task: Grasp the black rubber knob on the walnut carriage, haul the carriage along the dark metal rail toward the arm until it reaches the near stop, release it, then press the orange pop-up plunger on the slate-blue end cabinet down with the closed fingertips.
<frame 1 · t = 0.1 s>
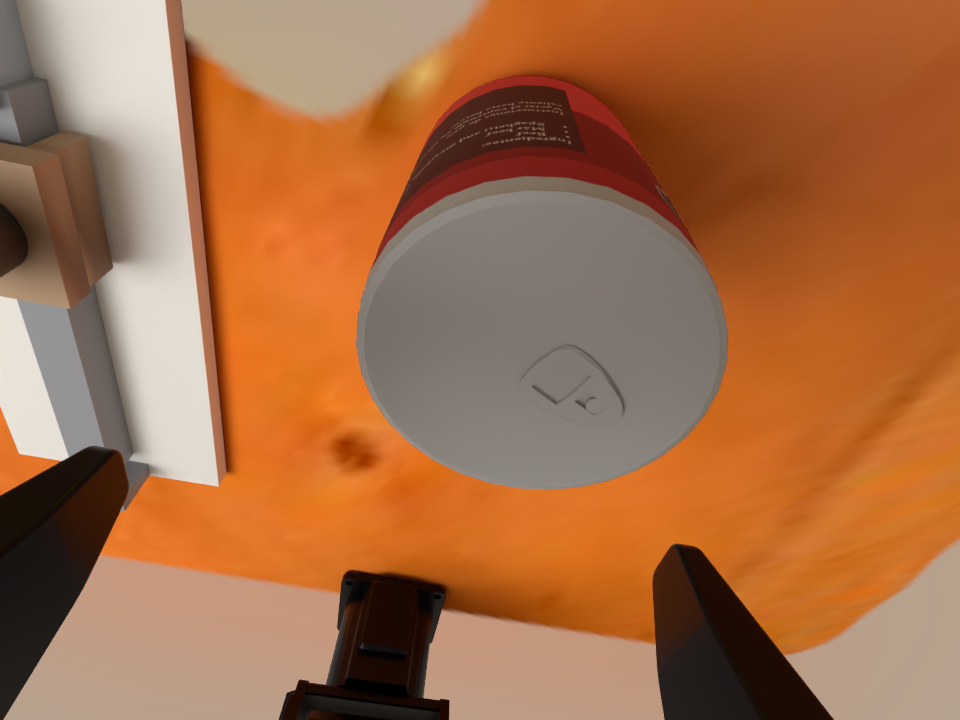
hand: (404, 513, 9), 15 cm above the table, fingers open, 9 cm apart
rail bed: (85, 265, 24), on the table
canned food: (528, 185, 21), on the table
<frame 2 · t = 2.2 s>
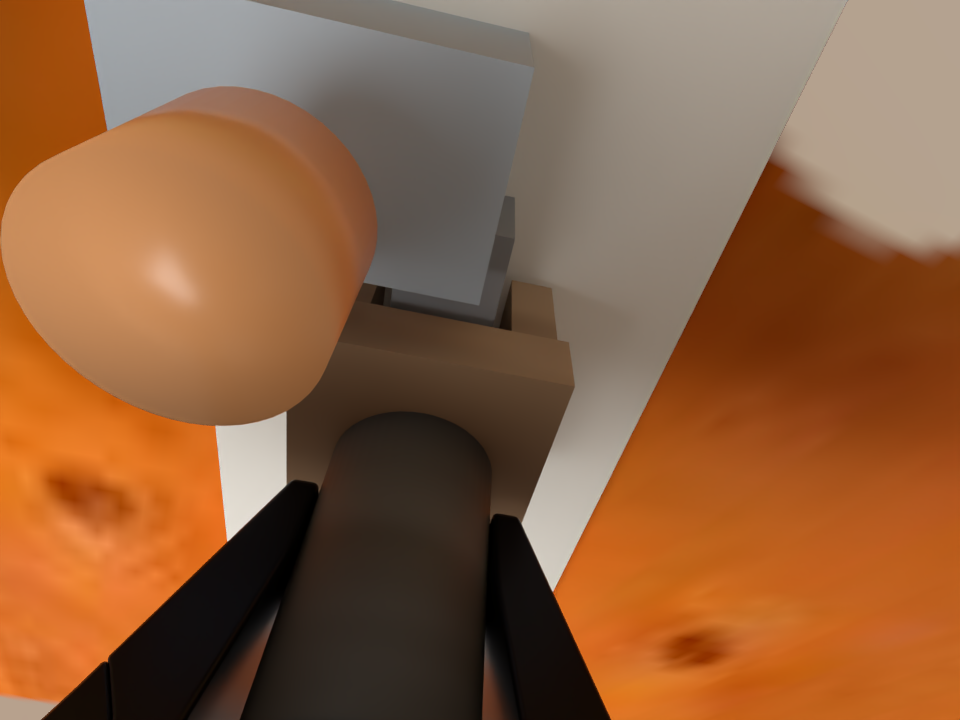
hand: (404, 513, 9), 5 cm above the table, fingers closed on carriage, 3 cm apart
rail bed: (418, 439, 16), on the table
carriage: (405, 505, 9), point 5 cm above the table, slide at 3.5 cm, touching gripper
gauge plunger: (222, 255, 5), point 7 cm above the table, slide at 1.5 cm
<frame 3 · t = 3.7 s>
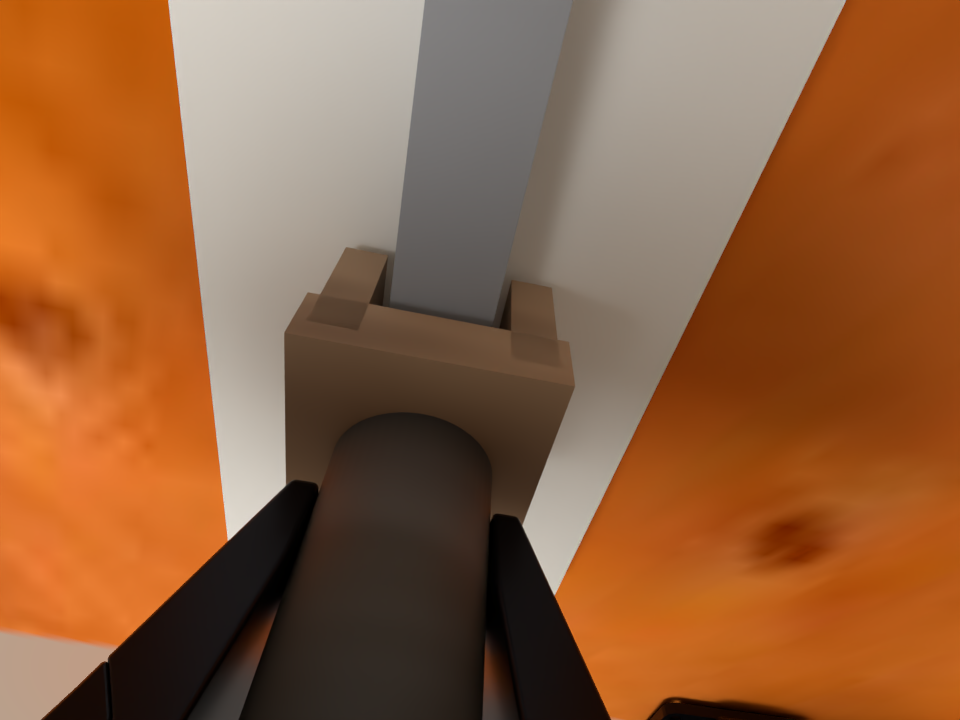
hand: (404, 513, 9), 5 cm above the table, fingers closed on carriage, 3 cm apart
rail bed: (462, 203, 12), on the table
carriage: (405, 506, 9), point 5 cm above the table, slide at -3.3 cm, touching gripper
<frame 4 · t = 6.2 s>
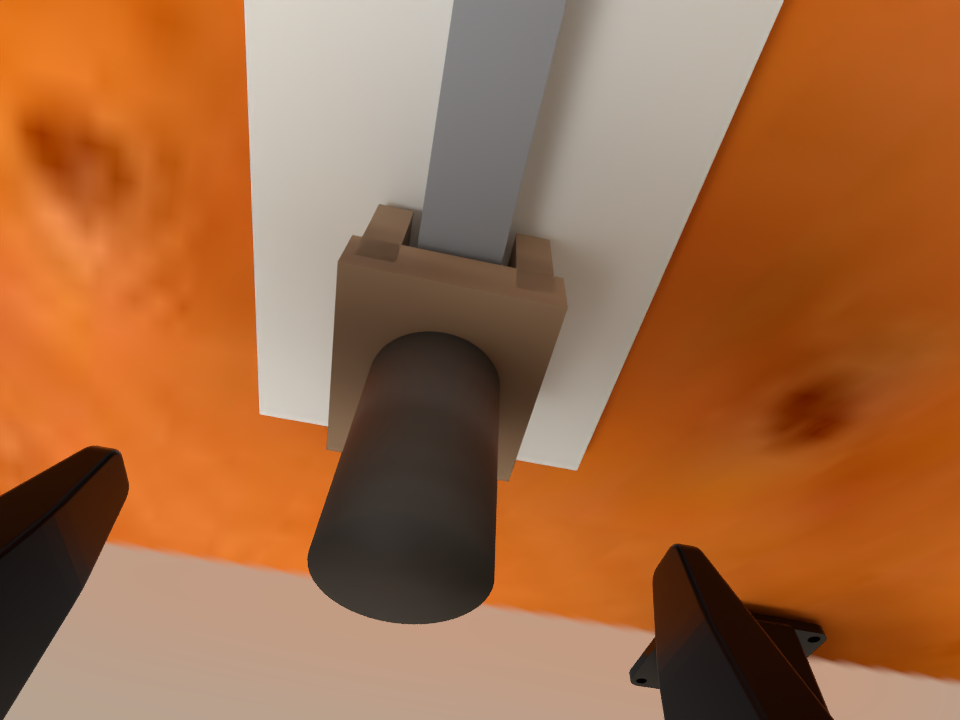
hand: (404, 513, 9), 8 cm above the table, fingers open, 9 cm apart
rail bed: (504, 21, 12), on the table
carriage: (430, 409, 12), point 5 cm above the table, slide at -6.5 cm
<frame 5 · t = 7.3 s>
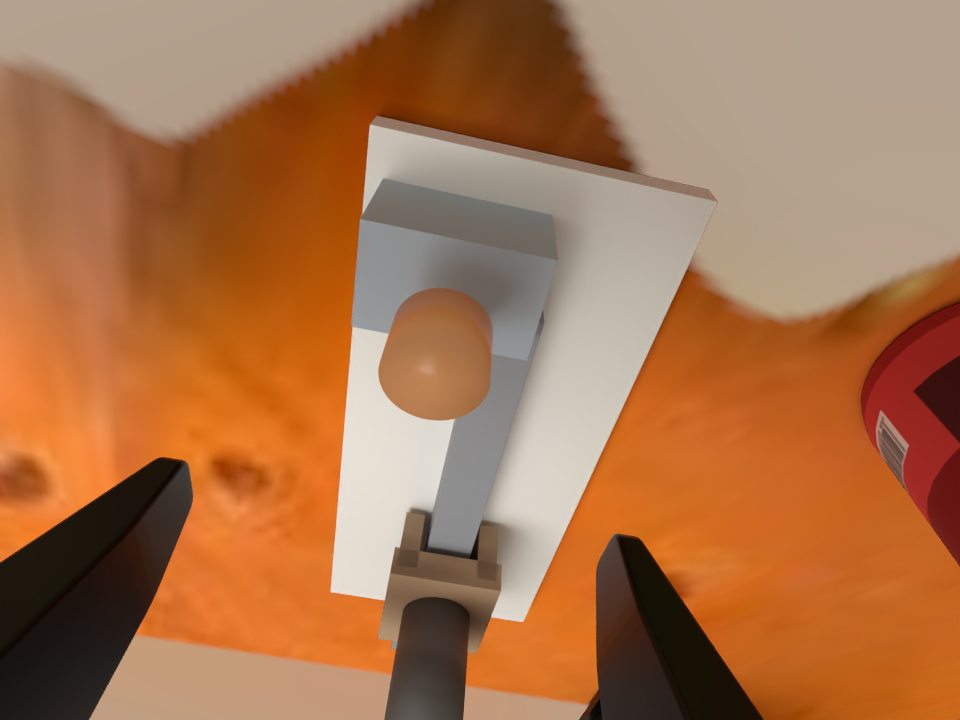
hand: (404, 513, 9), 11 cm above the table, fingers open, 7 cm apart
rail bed: (471, 433, 23), on the table
carriage: (434, 633, 23), point 5 cm above the table, slide at -6.5 cm
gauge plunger: (438, 354, 13), point 7 cm above the table, slide at 1.5 cm
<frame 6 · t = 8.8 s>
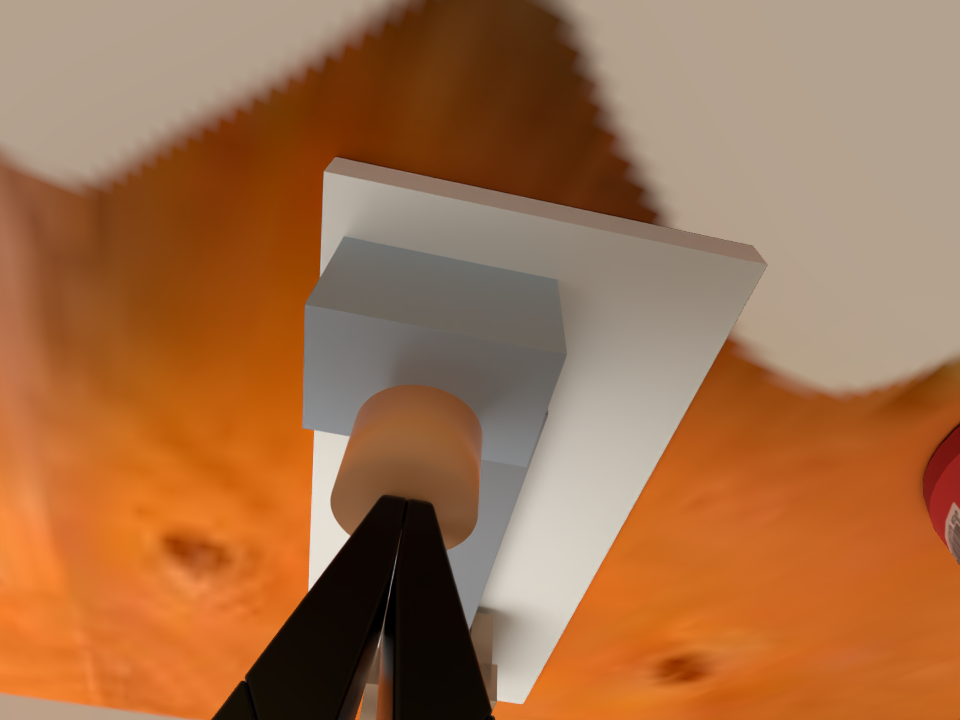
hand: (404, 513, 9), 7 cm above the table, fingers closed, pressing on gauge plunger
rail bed: (462, 512, 20), on the table
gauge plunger: (412, 470, 10), point 6 cm above the table, slide at 0.9 cm, touching gripper
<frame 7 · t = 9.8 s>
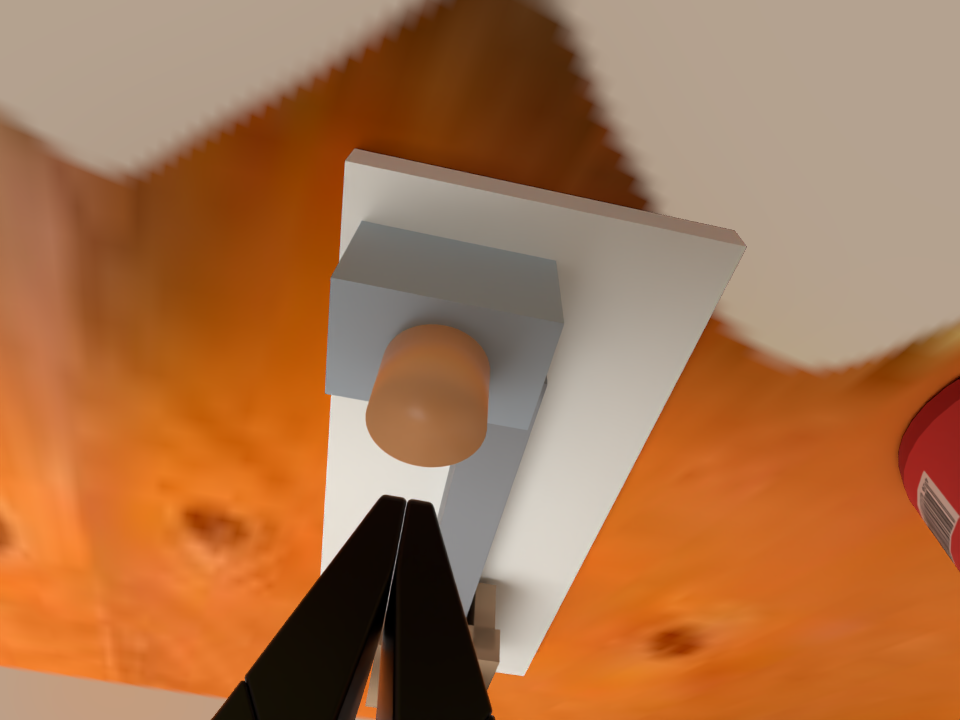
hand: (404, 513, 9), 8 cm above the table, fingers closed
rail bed: (467, 486, 21), on the table
carriage: (426, 706, 21), point 5 cm above the table, slide at -6.5 cm
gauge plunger: (431, 395, 12), point 5 cm above the table, slide at 0.0 cm
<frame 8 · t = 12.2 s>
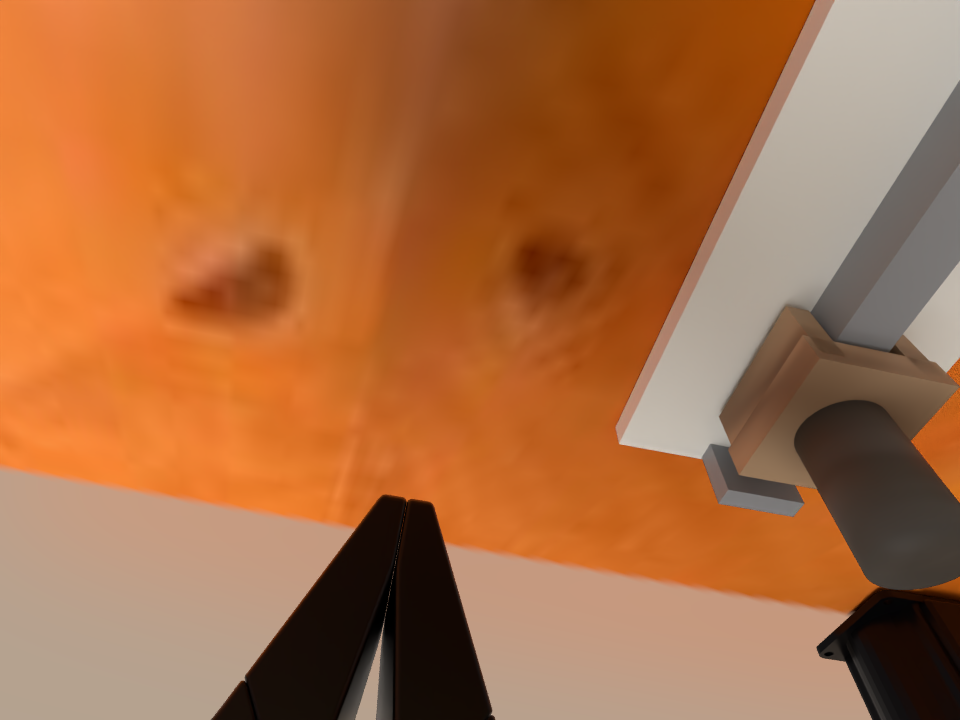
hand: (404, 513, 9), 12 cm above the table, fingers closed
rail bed: (895, 189, 18), on the table
carriage: (852, 451, 17), point 5 cm above the table, slide at -6.5 cm
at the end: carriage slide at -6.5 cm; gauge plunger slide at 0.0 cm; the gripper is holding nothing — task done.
